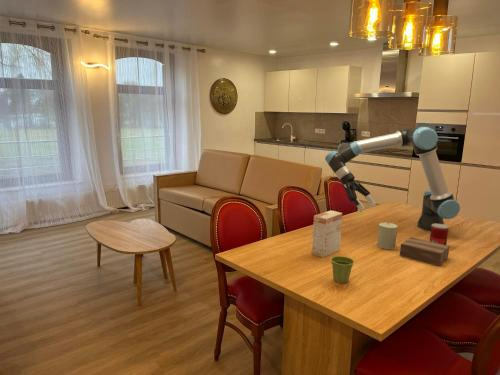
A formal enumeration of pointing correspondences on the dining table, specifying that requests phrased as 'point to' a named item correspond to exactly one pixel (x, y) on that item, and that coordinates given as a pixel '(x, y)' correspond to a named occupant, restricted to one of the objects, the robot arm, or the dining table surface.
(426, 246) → the walnut riser
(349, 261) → the plant pot
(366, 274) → the dining table surface
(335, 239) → the coffeecake box
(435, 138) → the robot arm
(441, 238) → the canned food
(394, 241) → the can
